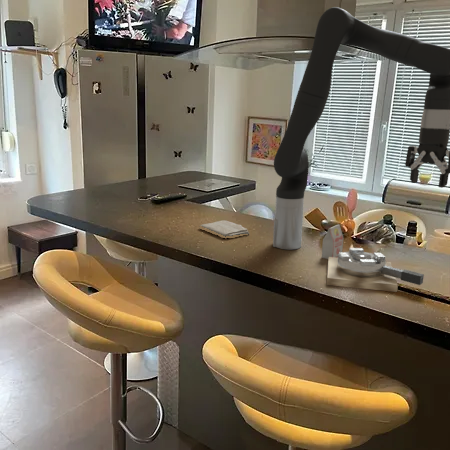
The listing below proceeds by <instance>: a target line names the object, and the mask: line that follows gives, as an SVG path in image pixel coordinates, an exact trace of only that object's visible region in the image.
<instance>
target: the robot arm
mask: <svg viewBox="0 0 450 450" xmlns="http://www.w3.org/2000/svg"><path fill="white" fill-rule="evenodd" d="M341 45H345V46H353V47H357V48H361V49H363V50H367V51H369V52H372V53H374V54H377V55H378V56H380V57H383V58H385V59H388V60H391V61H393V62H394V63H398V64H401V65H404V66H407V67H412V68H416V69H419V70H421V71H423V72H425V73H429V81H428V88H427V90H426V91H425V96H424V103H423V104H424V105H423V110H422V114H421V115H422V116H421V121H420V129H419V136H418V146H417V145H409V146H408V147H407V151H406V158H405V163H404V165H405V167H407V168H409V169H410V175H409V180H410V183H412V184H413V183H414V184H417V183H418V180H419V172H420V170H419V168H421V166H422V165H423V164H430V165H435V166H436V167H437V168H438V169H439V172H440V173H441V174H439V179H438V188H445V187H446V186H447V185H448V183H449V176H450V150H449V149H448V144H449V142H450V141H449V139H450V48H448V47H445V46H442V45H438V44H435V43H434V44H433V43H430V42H425V41H423V40H422V39H418V38H416V37H413V36H410V35H407V34H404V33H400V32H396V31H391V30H388V29H383V28H379V27H375V26H373V25H370V24H368V23H366V22H364V21H362V20H360V19H358V18H356V17H355V16H354V15H352V14H351V13H350V12H349V11H347V10H345V9H343V8H341V7H338V6H333V7H330V8H328V9H326V10H325V11H324V12H322V14H321V16H320V18H319V19H318V22H317V26H316V31H315V35H314V39H313V44H312V48H311V52H310V56H309V59H308V62H307V65H306V67H305V71H304V73H303V76H302V79H301V83H300V85H299V87H298V91H297V94H296V98H295V100H294V104H293V106H292V107H293V108H292V110H291V113H290V116H289V121H288V123H287V127H286V129H285V132H284V135H283V137H282V140H281V142H280V144H279V147H278V149H277V151H276V153H275V156H274V159H273V168H274V172H275V173H276V174H277V175H278V176H279V177H281V180H280V182H279V184H278V186H277V188H276V190H275V191H276V193H275V210H274V211H275V213H274V214H275V215H274V219H273V239H272V242H273V243H272V247H274V248H278V249H280V250H281V249H282V250H288V251H289V250H298V249H300V248H302V237H303V218H304V204H305V203H304V202H305V192H306V189H307V186H308V176H309V166H310V165H309V164H310V163H309V162H310V161H309V157H308V153H307V152H306V151H305V150H304V147H305V144H306V141H307V139H308V136H309V135H310V133H312V131H313V129H314V127H316V124H317V123H318V122H319V121H320V118H321V116H322V114H323V112H324V110H325V107H326V105H327V102H328V98H329V97H330V91H331V85H332V78H333V77H332V76H333V67H334V66H333V65H334V63H335V62H334V61H335V59H336V56H337V54H338V51H339V48H340V46H341ZM416 154H418V156H417V158H416ZM446 157H447V158H448V159H447V160H448V161H447V160H446Z"/></svg>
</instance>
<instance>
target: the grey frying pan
mask: <svg viewBox="0 0 450 450" xmlns="http://www.w3.org/2000/svg"><path fill="white" fill-rule="evenodd" d="M348 249H349V251H344V252H342V253H339V255H338V257H337V258H338V261H337V268H338V269H339V270H340V271H341V272H343V273H346V274H349V275H353V276H358V277H377V276H381V275H383V274H385V275H388V276H392V277H395V278H396V279H400V280H401V281H403V282H407V283H411V284H414V285H418V286H421V285H422V284H423V283H424V278H425V277H424V276H425V275H424V274H423V273H421V272H420V273H419V272H415V271H412V270H409V269H400V268H396V267H393V266H392V267H389V266H385V265H386V262H387V261H386V256H385V255H384V254H383V253H382V252H373V253H372V252H366V251H365V250H364V248H362V247H349V248H348Z"/></svg>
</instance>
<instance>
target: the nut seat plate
mask: <svg viewBox="0 0 450 450" xmlns="http://www.w3.org/2000/svg"><path fill="white" fill-rule="evenodd" d="M327 260H328V261H327V277H326V285H327V286H337V287H342V288H343V287H345V288H353V289H354V288H355V289H365V290H374V291H375V290H376V291H386V292H396V293H397V292H398V287H399V284H398V281H397V278H396V277H392V276H388V275H385V274H383V275H381V276H377V277H358V276H353V275H349V274H346V273H343V272H341V271H340V270H339V269H338V268H337V261H338V257H337V258H336V257H329V259H327ZM385 266H389V267H392V268H393V266H392V262H391V261H386V265H385Z"/></svg>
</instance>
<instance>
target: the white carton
mask: <svg viewBox="0 0 450 450" xmlns="http://www.w3.org/2000/svg"><path fill="white" fill-rule="evenodd" d="M321 248H322V249H321V258H322V259H326V260H329V257H336V258H338V255H339V253H343V249H344V235H343V232H342V229H341V224H336V225H334V226H332V227H329V228H328V229H327V232H326V234H325V236H324V237H323V239H322V246H321Z"/></svg>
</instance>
